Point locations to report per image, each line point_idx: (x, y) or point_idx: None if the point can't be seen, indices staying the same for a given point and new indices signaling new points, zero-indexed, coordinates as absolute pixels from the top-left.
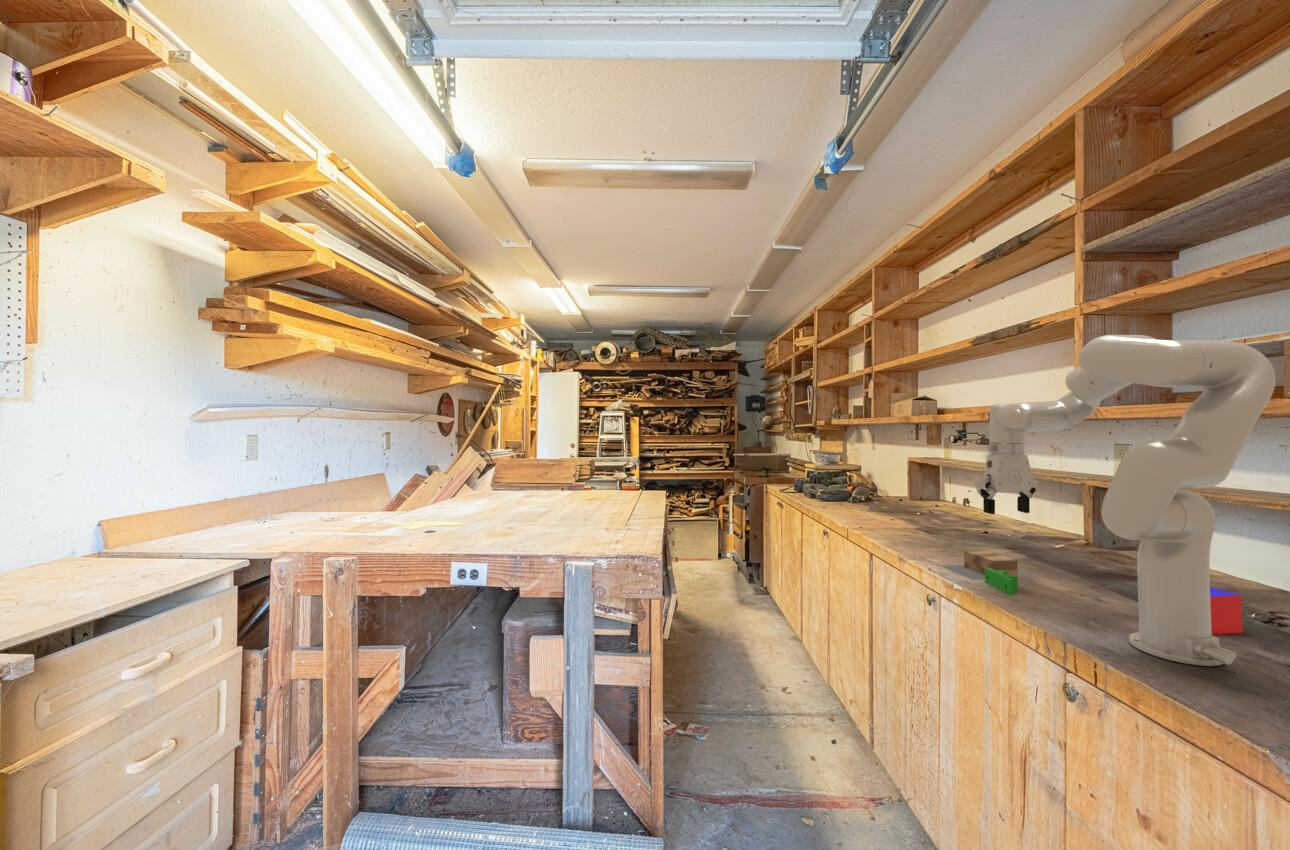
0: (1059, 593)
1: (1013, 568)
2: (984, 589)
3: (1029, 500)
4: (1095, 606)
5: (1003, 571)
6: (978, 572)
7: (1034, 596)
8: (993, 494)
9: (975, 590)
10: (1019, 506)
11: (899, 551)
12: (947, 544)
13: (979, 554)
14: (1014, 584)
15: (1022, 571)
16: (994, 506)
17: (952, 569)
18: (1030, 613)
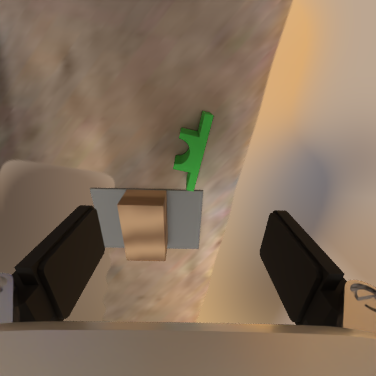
0: (112, 113)
1: (129, 197)
2: (219, 153)
3: (28, 254)
4: (99, 31)
5: (178, 167)
6: (167, 218)
7: (167, 106)
8: (365, 324)
9: (237, 150)
10: (92, 259)
11: (197, 303)
12: (115, 316)
13: (156, 241)
14: (186, 131)
15: (98, 212)
16: (298, 234)
17: (194, 234)
18: (253, 15)
